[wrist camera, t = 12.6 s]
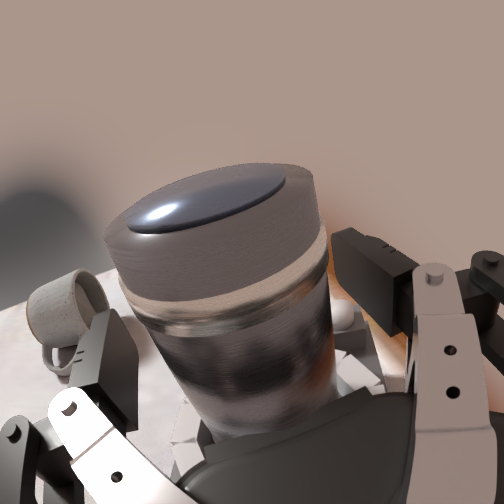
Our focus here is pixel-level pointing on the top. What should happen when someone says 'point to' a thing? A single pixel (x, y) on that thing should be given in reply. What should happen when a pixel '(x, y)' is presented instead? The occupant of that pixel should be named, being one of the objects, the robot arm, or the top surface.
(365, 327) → the grey socket block
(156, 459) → the top surface
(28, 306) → the ceramic mug
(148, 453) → the top surface
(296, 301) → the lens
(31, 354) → the top surface
